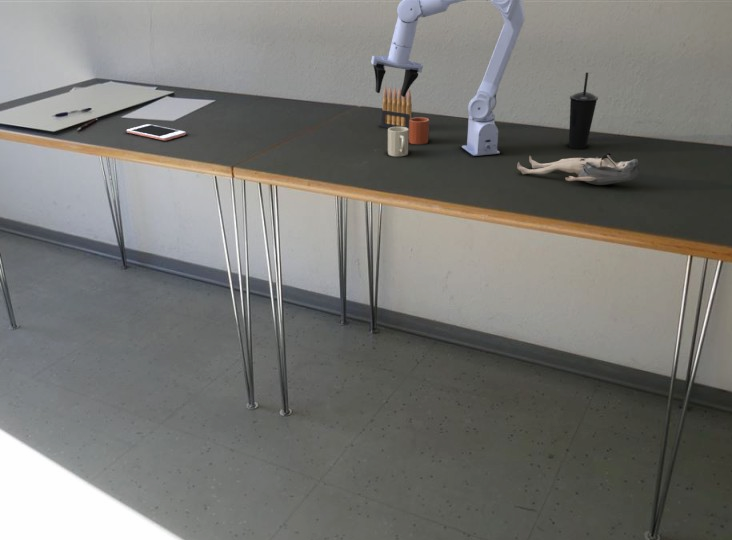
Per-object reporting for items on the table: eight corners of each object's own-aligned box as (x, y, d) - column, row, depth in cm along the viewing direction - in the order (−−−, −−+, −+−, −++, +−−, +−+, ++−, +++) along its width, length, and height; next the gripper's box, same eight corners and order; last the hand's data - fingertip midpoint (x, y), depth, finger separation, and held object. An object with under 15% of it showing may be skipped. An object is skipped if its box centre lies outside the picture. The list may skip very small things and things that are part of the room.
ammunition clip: (412, 130, 249) (413, 89, 242) (409, 131, 247) (410, 90, 241) (384, 125, 254) (384, 85, 248) (381, 126, 253) (381, 86, 247)
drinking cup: (592, 150, 226) (602, 75, 215) (564, 149, 227) (573, 75, 217) (590, 143, 232) (600, 70, 222) (563, 142, 234) (572, 69, 223)
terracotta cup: (430, 143, 235) (431, 121, 232) (412, 145, 234) (412, 122, 231) (422, 136, 242) (422, 115, 238) (404, 138, 241) (404, 116, 237)
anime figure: (531, 148, 212) (646, 149, 195) (532, 176, 216) (644, 180, 198) (515, 157, 206) (631, 159, 188) (516, 185, 209) (631, 190, 192)
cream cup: (385, 151, 229) (385, 127, 225) (404, 150, 230) (404, 125, 226) (393, 159, 222) (393, 134, 219) (413, 157, 223) (413, 132, 220)
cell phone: (164, 141, 242) (164, 138, 242) (126, 132, 252) (125, 129, 251) (186, 134, 248) (186, 131, 248) (148, 126, 258) (147, 123, 257)
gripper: (422, 44, 226) (409, 92, 233) (373, 35, 221) (362, 85, 229) (429, 51, 220) (416, 100, 228) (379, 43, 216) (368, 93, 224)
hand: (390, 93), depth 228 cm, fingers open, 7 cm apart
